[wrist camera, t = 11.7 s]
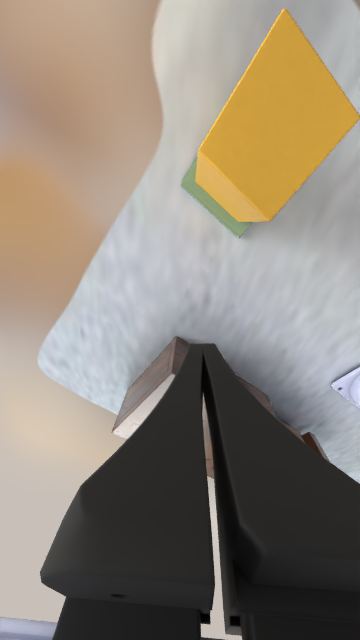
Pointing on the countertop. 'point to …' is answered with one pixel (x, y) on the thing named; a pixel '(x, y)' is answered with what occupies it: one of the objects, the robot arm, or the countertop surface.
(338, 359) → the countertop surface
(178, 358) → the cabinet
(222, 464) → the robot arm
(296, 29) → the block
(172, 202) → the countertop surface
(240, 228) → the pad
